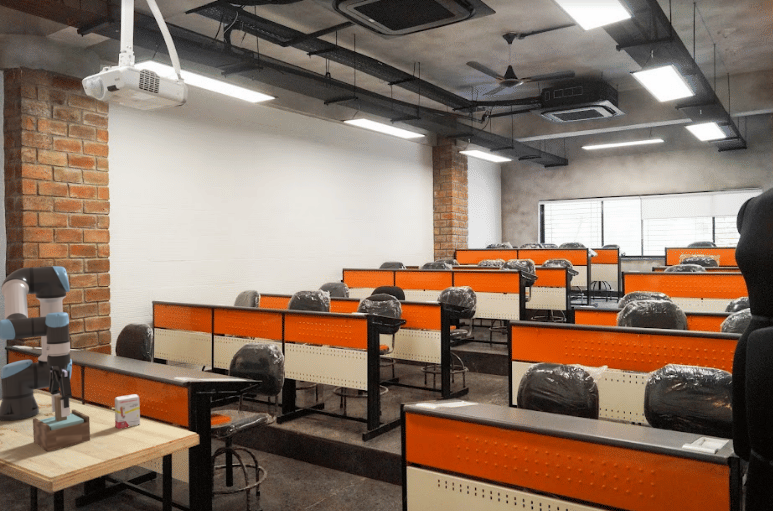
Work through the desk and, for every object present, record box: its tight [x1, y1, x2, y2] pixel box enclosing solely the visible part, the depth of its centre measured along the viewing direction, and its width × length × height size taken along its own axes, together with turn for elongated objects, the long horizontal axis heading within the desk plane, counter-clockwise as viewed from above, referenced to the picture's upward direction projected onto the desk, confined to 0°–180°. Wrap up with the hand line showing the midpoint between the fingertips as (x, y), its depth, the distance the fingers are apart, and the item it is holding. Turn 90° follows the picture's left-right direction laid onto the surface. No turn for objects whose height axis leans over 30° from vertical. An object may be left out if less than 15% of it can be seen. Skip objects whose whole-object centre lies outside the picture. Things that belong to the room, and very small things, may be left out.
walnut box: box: [32, 409, 91, 452], centre depth 214 cm, size 15×14×9 cm
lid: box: [39, 394, 84, 430], centre depth 214 cm, size 13×11×10 cm
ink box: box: [114, 393, 141, 430], centre depth 231 cm, size 9×5×12 cm, turn 127°
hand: (60, 413), depth 214 cm, fingers open, 9 cm apart
